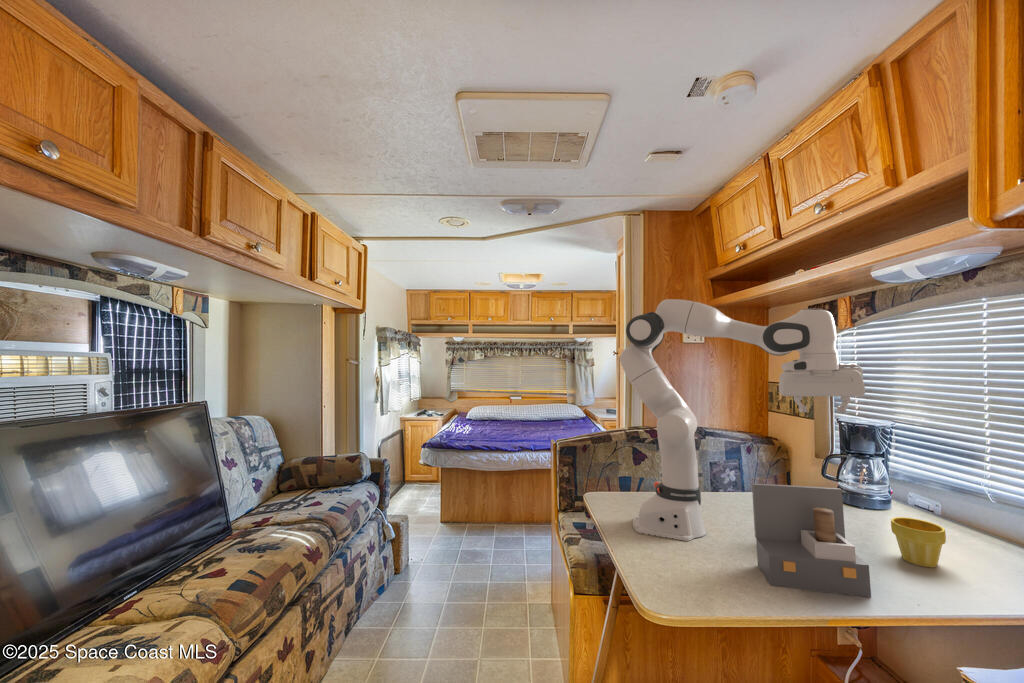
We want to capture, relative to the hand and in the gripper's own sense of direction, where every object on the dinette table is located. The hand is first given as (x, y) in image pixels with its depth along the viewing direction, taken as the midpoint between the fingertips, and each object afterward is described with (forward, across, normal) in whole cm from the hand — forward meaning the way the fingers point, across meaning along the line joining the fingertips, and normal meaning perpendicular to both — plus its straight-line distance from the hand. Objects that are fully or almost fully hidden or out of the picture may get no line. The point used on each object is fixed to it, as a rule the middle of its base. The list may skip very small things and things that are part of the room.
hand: (822, 412), depth 115 cm
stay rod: (+32, +8, +18) cm, 38 cm away
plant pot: (+39, -20, 0) cm, 44 cm away
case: (+39, +12, +18) cm, 45 cm away
